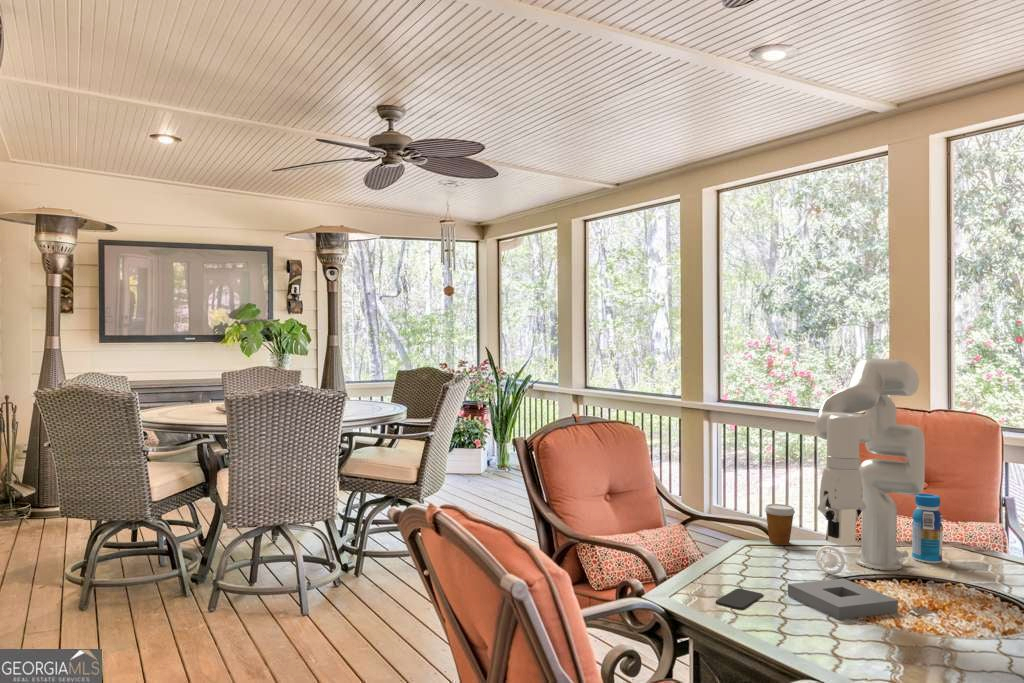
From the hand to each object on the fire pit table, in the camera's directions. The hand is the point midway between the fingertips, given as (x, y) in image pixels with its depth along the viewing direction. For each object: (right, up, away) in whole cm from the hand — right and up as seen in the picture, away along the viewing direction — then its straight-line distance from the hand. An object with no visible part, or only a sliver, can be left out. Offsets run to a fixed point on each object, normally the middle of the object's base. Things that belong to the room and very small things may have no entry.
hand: (841, 535), depth 187 cm
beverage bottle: (+45, -19, +41) cm, 64 cm away
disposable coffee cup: (+6, -18, +60) cm, 63 cm away
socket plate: (0, -17, 0) cm, 17 cm away
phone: (-25, -17, +2) cm, 31 cm away
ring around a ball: (+7, -18, +25) cm, 31 cm away
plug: (0, -2, 0) cm, 2 cm away
